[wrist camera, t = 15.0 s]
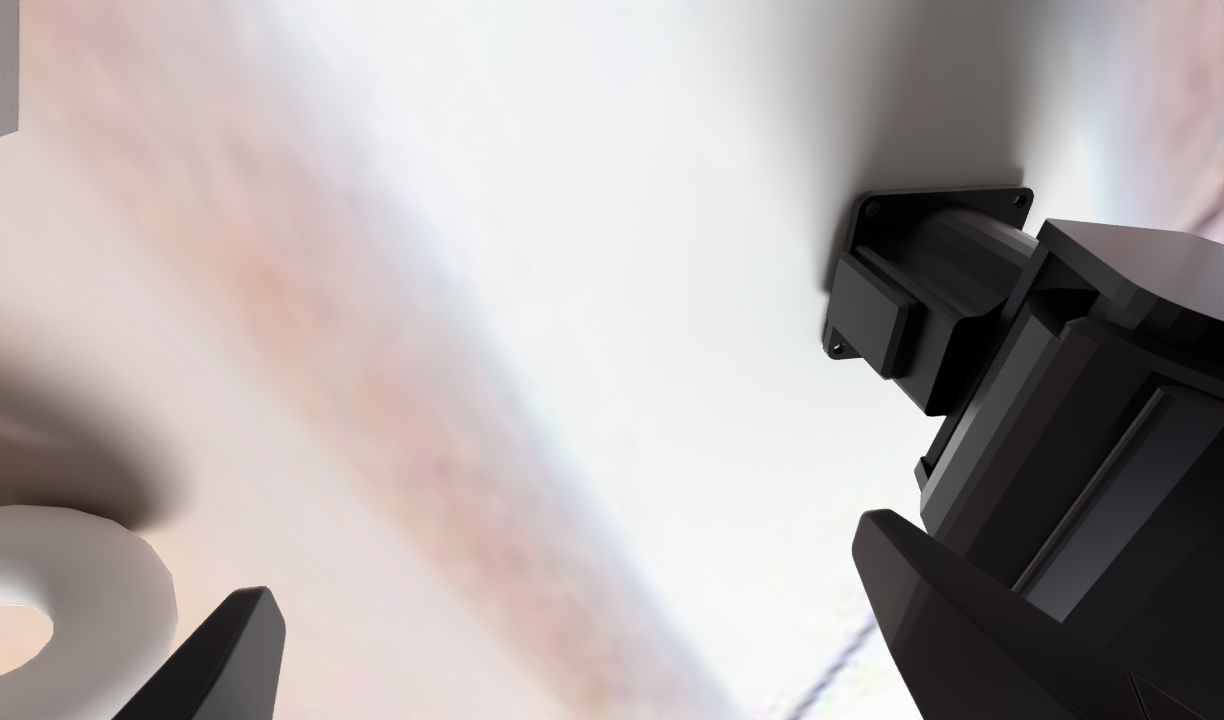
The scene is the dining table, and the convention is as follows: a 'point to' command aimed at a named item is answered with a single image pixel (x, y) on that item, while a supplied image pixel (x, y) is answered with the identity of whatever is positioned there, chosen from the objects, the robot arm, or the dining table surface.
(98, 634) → the donut
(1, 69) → the socket
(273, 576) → the dining table surface
